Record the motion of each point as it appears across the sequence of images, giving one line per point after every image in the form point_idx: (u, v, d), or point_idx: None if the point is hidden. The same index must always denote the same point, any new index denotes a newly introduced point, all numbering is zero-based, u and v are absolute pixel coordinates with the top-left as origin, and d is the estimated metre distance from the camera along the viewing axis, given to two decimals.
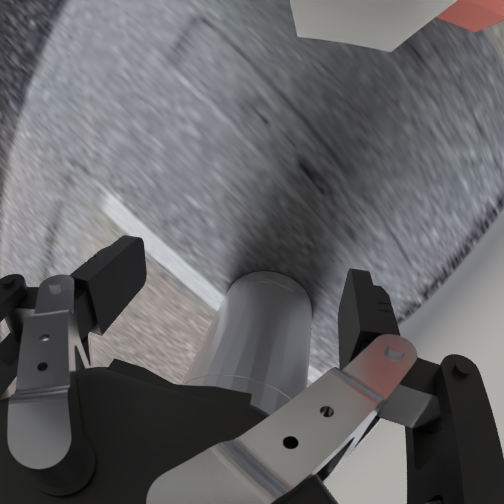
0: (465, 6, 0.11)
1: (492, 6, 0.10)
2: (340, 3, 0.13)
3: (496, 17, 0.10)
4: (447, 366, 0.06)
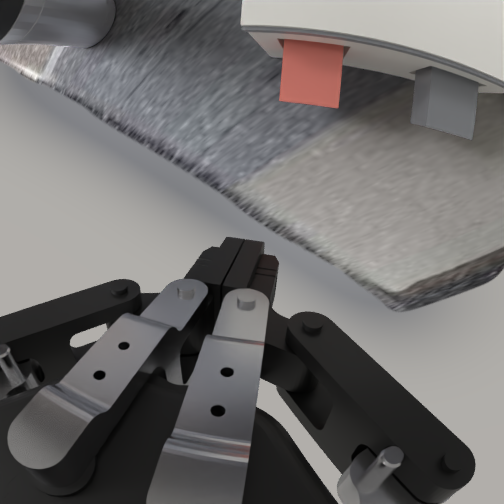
0: None
1: (284, 87, 0.24)
2: None
3: None
4: (296, 328, 0.08)
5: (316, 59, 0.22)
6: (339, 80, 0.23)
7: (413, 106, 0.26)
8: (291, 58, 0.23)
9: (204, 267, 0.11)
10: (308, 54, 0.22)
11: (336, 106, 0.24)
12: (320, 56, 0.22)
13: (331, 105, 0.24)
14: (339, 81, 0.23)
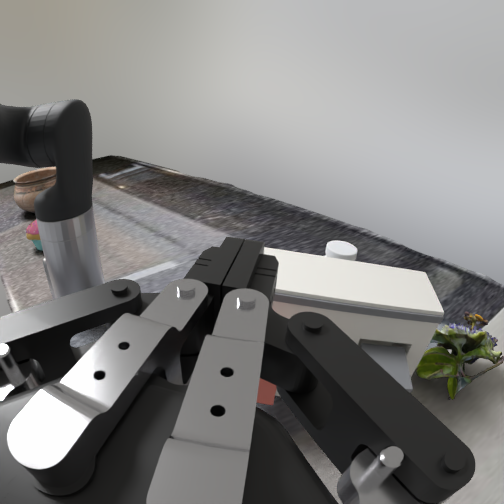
0: None
1: None
2: None
3: None
4: (296, 328, 0.08)
5: None
6: None
7: None
8: None
9: (204, 267, 0.11)
10: None
11: None
12: None
13: None
14: None
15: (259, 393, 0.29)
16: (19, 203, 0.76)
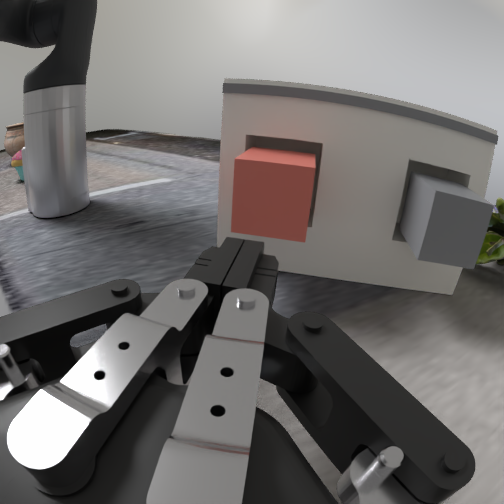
0: None
1: (244, 156, 0.20)
2: None
3: None
4: (295, 328, 0.08)
5: (286, 153, 0.22)
6: (313, 161, 0.21)
7: (412, 243, 0.21)
8: (257, 151, 0.23)
9: (204, 267, 0.11)
10: (276, 152, 0.23)
11: (312, 167, 0.19)
12: (289, 153, 0.23)
13: (305, 166, 0.19)
14: (314, 161, 0.21)
15: (285, 215, 0.20)
16: (9, 148, 0.67)
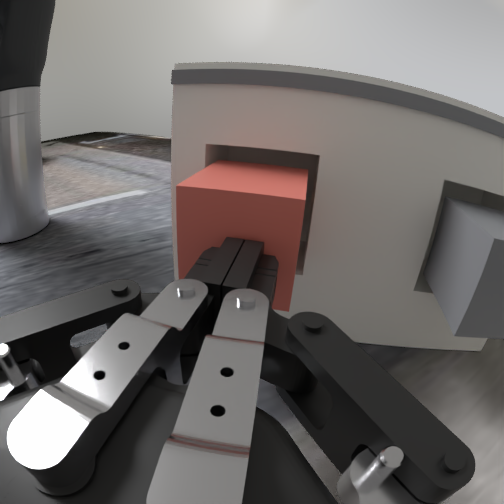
0: None
1: (194, 179, 0.13)
2: None
3: None
4: (296, 328, 0.08)
5: (263, 171, 0.15)
6: (304, 183, 0.14)
7: (446, 306, 0.14)
8: (221, 167, 0.15)
9: (204, 267, 0.11)
10: (250, 168, 0.16)
11: (301, 198, 0.12)
12: (269, 170, 0.16)
13: (289, 196, 0.12)
14: (305, 184, 0.13)
15: None
16: None
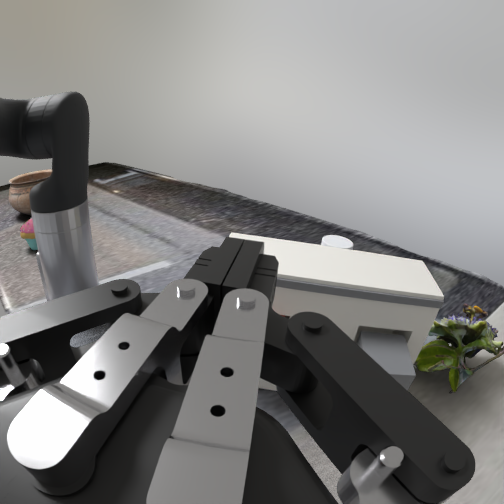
0: None
1: None
2: None
3: None
4: (295, 328, 0.08)
5: None
6: None
7: None
8: None
9: (204, 267, 0.11)
10: None
11: None
12: None
13: None
14: None
15: None
16: (14, 204, 0.74)
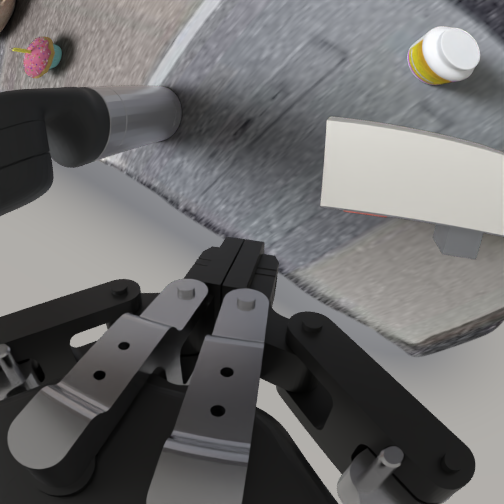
0: None
1: None
2: None
3: None
4: (295, 328, 0.08)
5: None
6: None
7: (436, 226, 0.36)
8: None
9: (204, 267, 0.11)
10: None
11: (385, 216, 0.33)
12: None
13: None
14: None
15: None
16: None
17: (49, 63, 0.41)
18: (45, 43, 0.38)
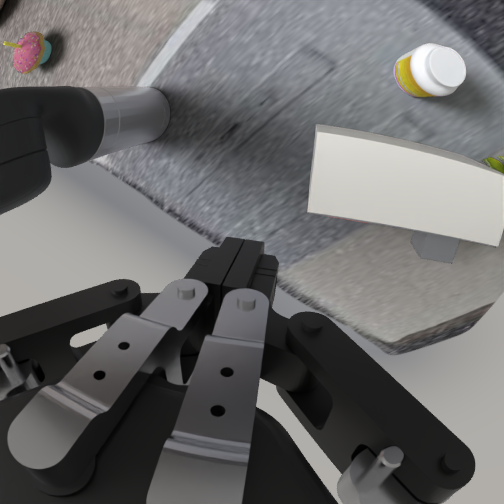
0: None
1: None
2: None
3: None
4: (296, 328, 0.08)
5: None
6: None
7: (414, 231, 0.40)
8: None
9: (204, 267, 0.11)
10: None
11: None
12: None
13: None
14: None
15: None
16: None
17: (39, 59, 0.39)
18: (36, 38, 0.36)
